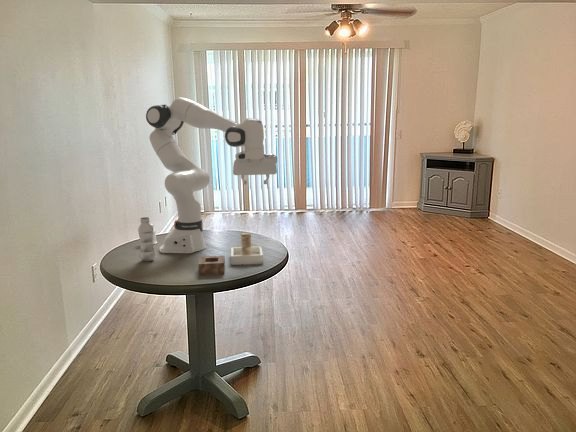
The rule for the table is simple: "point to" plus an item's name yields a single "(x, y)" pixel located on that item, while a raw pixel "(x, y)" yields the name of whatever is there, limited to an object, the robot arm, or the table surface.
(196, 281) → the table surface
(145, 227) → the plastic bottle
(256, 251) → the tray
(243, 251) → the pin
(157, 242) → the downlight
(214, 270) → the socket
